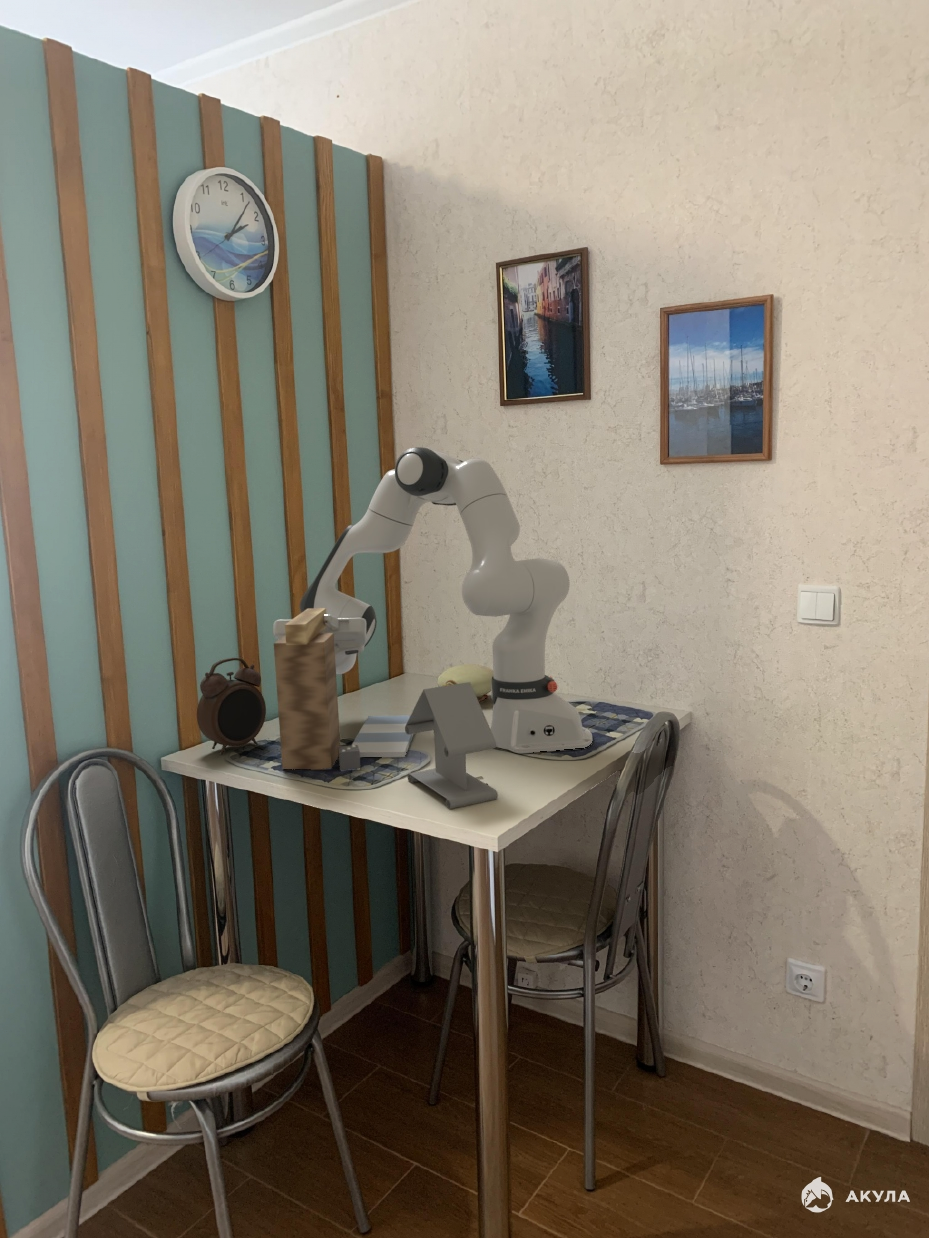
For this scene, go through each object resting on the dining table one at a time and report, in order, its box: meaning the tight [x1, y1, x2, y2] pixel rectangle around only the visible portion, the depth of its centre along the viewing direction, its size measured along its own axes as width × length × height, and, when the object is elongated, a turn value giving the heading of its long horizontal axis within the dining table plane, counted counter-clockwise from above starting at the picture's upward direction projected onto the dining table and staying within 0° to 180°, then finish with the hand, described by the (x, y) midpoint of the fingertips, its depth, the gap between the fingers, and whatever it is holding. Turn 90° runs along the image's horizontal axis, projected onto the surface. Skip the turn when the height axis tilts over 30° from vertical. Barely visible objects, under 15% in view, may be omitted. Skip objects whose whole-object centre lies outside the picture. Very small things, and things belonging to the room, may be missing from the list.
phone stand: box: [405, 682, 498, 810], centre depth 173 cm, size 18×10×20 cm, turn 28°
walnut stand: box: [273, 633, 341, 771], centre depth 192 cm, size 10×10×26 cm
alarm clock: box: [196, 657, 267, 755], centre depth 203 cm, size 14×7×20 cm, turn 138°
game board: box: [350, 714, 414, 758], centre depth 209 cm, size 12×28×1 cm, turn 177°
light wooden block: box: [285, 608, 327, 645], centre depth 192 cm, size 4×20×4 cm, turn 177°
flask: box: [437, 663, 493, 703], centre depth 237 cm, size 9×16×18 cm
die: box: [338, 745, 361, 771], centre depth 189 cm, size 4×4×4 cm
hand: (313, 618), depth 198 cm, fingers closed on light wooden block, 4 cm apart
